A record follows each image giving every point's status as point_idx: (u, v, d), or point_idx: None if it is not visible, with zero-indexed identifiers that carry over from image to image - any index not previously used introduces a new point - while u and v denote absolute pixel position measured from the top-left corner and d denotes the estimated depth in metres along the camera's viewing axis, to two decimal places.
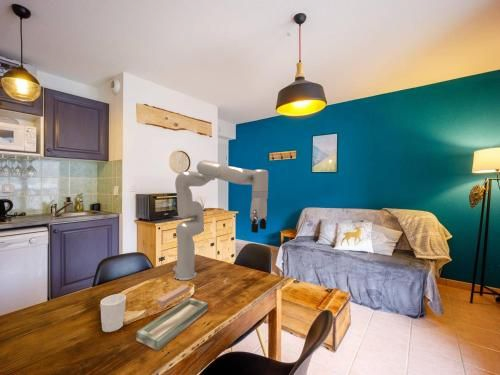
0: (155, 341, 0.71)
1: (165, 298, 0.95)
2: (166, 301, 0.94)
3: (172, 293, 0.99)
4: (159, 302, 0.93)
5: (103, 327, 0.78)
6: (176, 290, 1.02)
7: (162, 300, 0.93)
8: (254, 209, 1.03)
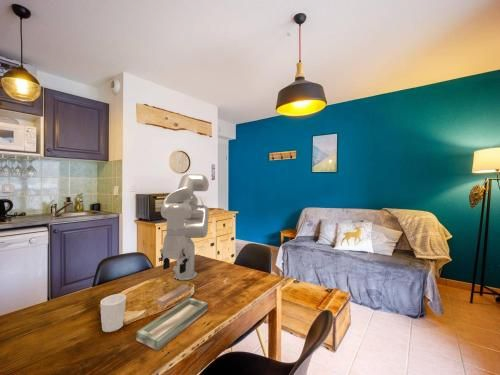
0: (155, 341, 0.71)
1: (165, 298, 0.95)
2: (166, 301, 0.94)
3: (172, 293, 0.99)
4: (159, 302, 0.93)
5: (103, 327, 0.78)
6: (176, 290, 1.02)
7: (162, 300, 0.93)
8: (182, 248, 0.97)
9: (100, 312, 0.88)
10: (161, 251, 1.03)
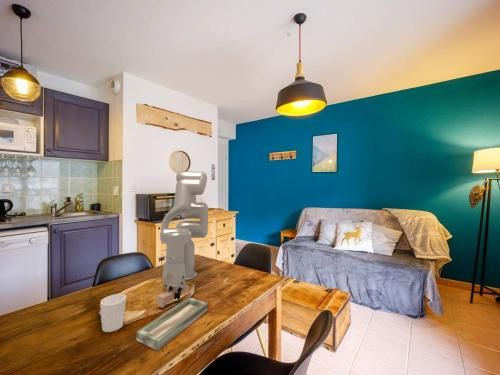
0: (155, 341, 0.71)
1: (165, 295, 0.95)
2: (167, 298, 0.94)
3: (173, 291, 0.99)
4: (159, 298, 0.93)
5: (103, 327, 0.78)
6: None
7: (162, 297, 0.93)
8: (182, 278, 0.98)
9: None
10: None
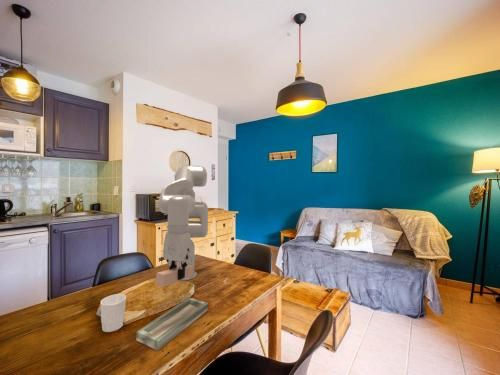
0: (155, 341, 0.71)
1: (167, 272, 0.79)
2: (168, 276, 0.78)
3: (175, 269, 0.83)
4: (159, 276, 0.77)
5: (103, 327, 0.78)
6: None
7: (163, 274, 0.77)
8: (187, 250, 0.82)
9: (96, 313, 0.87)
10: None
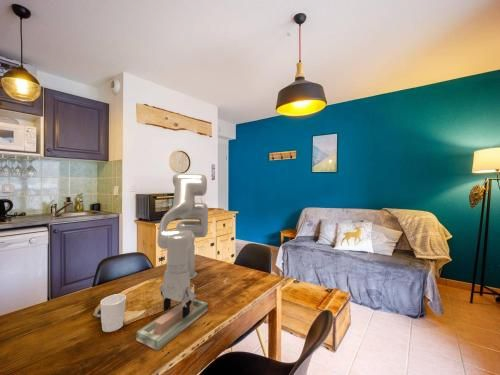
0: (155, 341, 0.71)
1: (164, 319, 0.78)
2: (166, 324, 0.77)
3: (173, 312, 0.82)
4: (157, 325, 0.76)
5: (103, 327, 0.78)
6: (178, 308, 0.85)
7: (161, 322, 0.76)
8: (186, 287, 0.81)
9: (93, 314, 0.87)
10: (161, 288, 0.87)
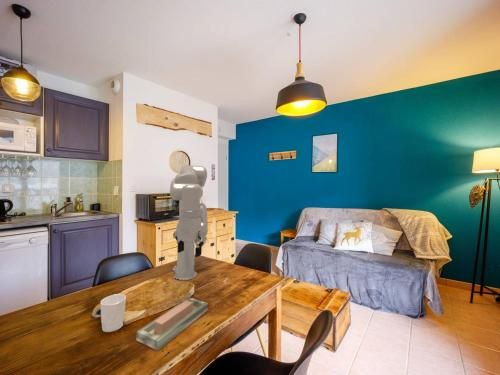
0: (155, 341, 0.71)
1: (164, 319, 0.78)
2: (166, 324, 0.77)
3: (173, 312, 0.82)
4: (157, 325, 0.76)
5: (103, 327, 0.78)
6: (178, 308, 0.85)
7: (161, 322, 0.76)
8: (198, 231, 0.92)
9: (92, 314, 0.86)
10: (175, 233, 0.97)
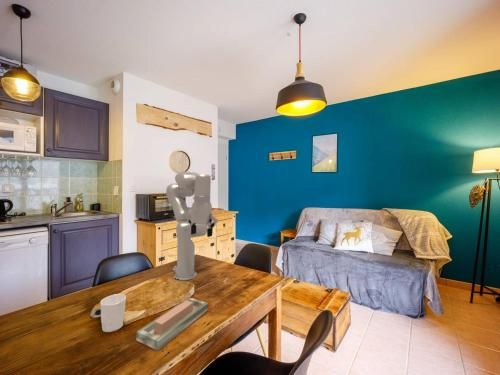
0: (155, 341, 0.71)
1: (164, 319, 0.78)
2: (166, 324, 0.77)
3: (173, 312, 0.82)
4: (157, 325, 0.76)
5: (103, 327, 0.78)
6: (178, 308, 0.85)
7: (161, 322, 0.76)
8: (210, 214, 1.05)
9: (90, 315, 0.86)
10: (188, 218, 1.10)
